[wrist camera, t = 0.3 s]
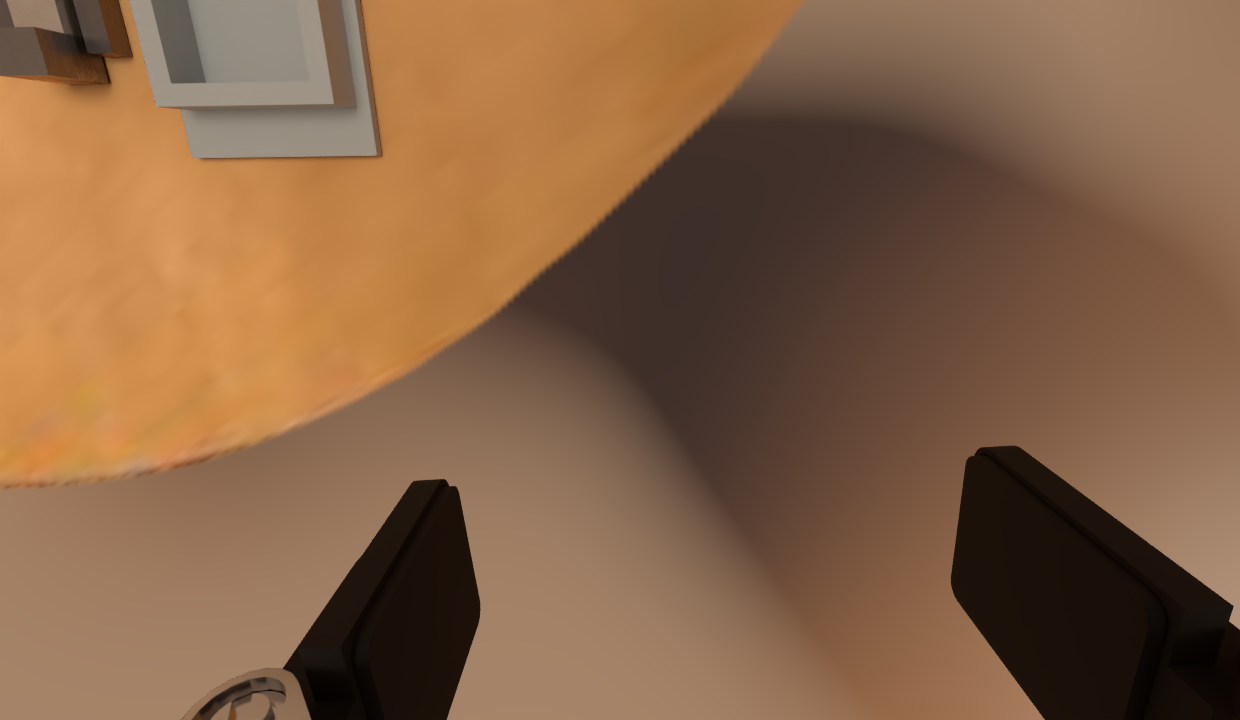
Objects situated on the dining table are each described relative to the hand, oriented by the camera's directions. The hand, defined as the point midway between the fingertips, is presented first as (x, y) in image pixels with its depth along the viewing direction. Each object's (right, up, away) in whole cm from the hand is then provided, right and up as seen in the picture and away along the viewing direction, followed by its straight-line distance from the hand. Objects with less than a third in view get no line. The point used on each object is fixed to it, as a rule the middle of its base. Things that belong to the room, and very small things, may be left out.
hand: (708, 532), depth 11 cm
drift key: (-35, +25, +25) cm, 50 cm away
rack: (-23, +24, +25) cm, 42 cm away
